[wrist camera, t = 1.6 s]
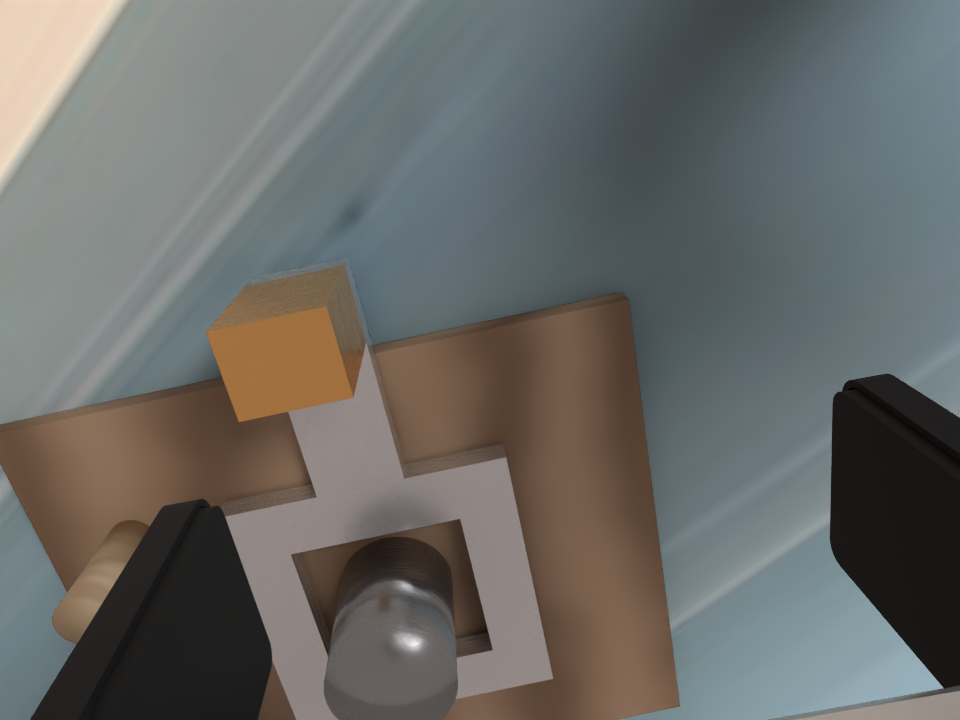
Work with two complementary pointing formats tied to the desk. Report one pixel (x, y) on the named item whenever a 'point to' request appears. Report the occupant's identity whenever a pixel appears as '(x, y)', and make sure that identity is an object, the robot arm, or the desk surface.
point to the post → (393, 635)
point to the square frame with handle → (358, 483)
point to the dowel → (97, 580)
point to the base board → (422, 435)
